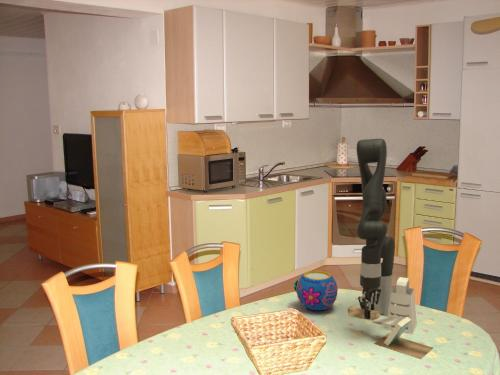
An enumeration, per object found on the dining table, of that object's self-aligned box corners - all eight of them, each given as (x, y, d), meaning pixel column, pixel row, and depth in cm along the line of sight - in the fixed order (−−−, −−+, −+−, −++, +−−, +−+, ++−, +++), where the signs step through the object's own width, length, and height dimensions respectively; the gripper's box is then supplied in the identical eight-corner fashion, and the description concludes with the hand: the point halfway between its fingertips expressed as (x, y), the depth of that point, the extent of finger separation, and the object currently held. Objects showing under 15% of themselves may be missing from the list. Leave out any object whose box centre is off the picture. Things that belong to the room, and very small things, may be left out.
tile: (393, 335, 197) (407, 316, 193) (398, 339, 196) (411, 320, 192) (383, 342, 191) (397, 323, 187) (388, 346, 190) (401, 327, 186)
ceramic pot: (314, 297, 241) (314, 265, 238) (345, 308, 228) (346, 275, 225) (287, 307, 229) (287, 274, 227) (319, 319, 216) (319, 284, 214)
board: (387, 336, 201) (387, 333, 201) (433, 350, 189) (433, 347, 189) (373, 346, 193) (373, 343, 193) (420, 361, 181) (420, 359, 181)
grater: (384, 331, 205) (386, 282, 202) (390, 321, 214) (391, 274, 211) (412, 336, 200) (415, 286, 197) (416, 326, 210) (419, 277, 206)
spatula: (345, 317, 202) (345, 309, 202) (354, 312, 207) (353, 304, 206) (390, 326, 190) (389, 317, 189) (397, 321, 194) (397, 312, 194)
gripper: (370, 267, 203) (369, 309, 206) (351, 275, 193) (350, 320, 196) (388, 271, 198) (387, 314, 201) (370, 280, 188) (368, 326, 191)
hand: (369, 317), depth 199 cm, fingers closed on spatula, 2 cm apart
